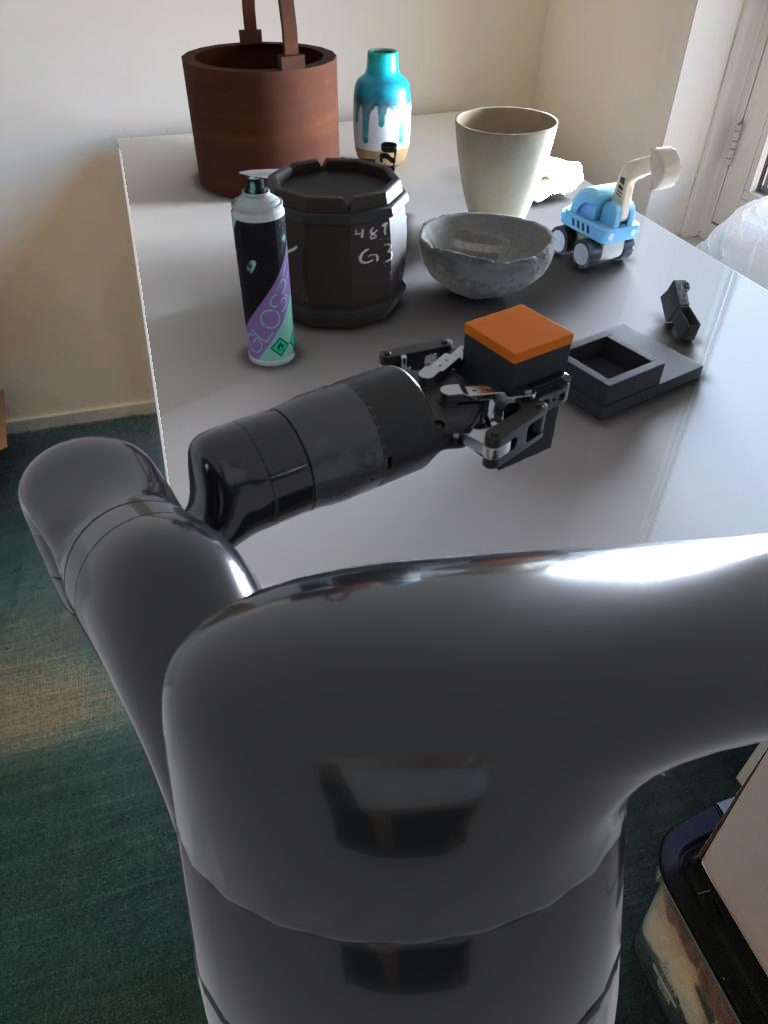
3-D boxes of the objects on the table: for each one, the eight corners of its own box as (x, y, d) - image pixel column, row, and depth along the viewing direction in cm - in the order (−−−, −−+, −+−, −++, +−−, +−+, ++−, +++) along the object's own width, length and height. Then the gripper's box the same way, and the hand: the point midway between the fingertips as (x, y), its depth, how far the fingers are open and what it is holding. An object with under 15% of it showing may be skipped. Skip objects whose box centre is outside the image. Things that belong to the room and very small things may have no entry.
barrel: (303, 264, 107) (296, 147, 96) (421, 284, 102) (426, 163, 92) (242, 317, 94) (226, 189, 84) (373, 343, 89) (373, 211, 79)
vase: (367, 179, 135) (367, 58, 123) (345, 162, 143) (342, 47, 130) (419, 172, 139) (423, 54, 126) (394, 156, 146) (397, 43, 133)
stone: (497, 167, 141) (500, 139, 138) (558, 166, 142) (562, 138, 139) (522, 205, 126) (526, 175, 123) (590, 204, 127) (596, 174, 123)
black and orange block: (552, 448, 58) (574, 333, 52) (499, 471, 56) (515, 354, 50) (506, 415, 62) (522, 303, 55) (454, 436, 60) (464, 322, 53)
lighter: (687, 351, 94) (707, 330, 89) (672, 352, 93) (691, 331, 88) (674, 295, 96) (693, 272, 91) (659, 296, 96) (677, 273, 91)
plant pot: (469, 206, 125) (478, 101, 115) (554, 222, 120) (571, 114, 110) (432, 235, 115) (438, 123, 105) (522, 254, 110) (538, 138, 100)
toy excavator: (617, 291, 101) (648, 157, 90) (543, 248, 112) (562, 124, 101) (664, 279, 104) (700, 148, 93) (587, 238, 115) (610, 117, 104)
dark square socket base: (699, 377, 84) (710, 345, 82) (601, 420, 78) (609, 387, 75) (621, 334, 92) (628, 304, 89) (524, 370, 85) (529, 339, 83)
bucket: (217, 208, 123) (181, -56, 100) (185, 163, 141) (149, -69, 118) (360, 189, 131) (358, -60, 108) (313, 149, 149) (302, -72, 126)
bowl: (548, 267, 107) (557, 211, 101) (547, 324, 94) (557, 262, 88) (424, 257, 109) (427, 202, 104) (407, 311, 96) (409, 251, 91)
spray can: (255, 370, 85) (233, 188, 71) (243, 348, 88) (221, 171, 75) (301, 361, 86) (288, 182, 73) (288, 340, 90) (273, 166, 77)
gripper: (300, 431, 56) (474, 369, 63) (409, 541, 47) (598, 454, 54) (293, 342, 51) (483, 285, 58) (413, 446, 42) (620, 363, 49)
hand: (537, 367), depth 56 cm, fingers closed on black and orange block, 5 cm apart
